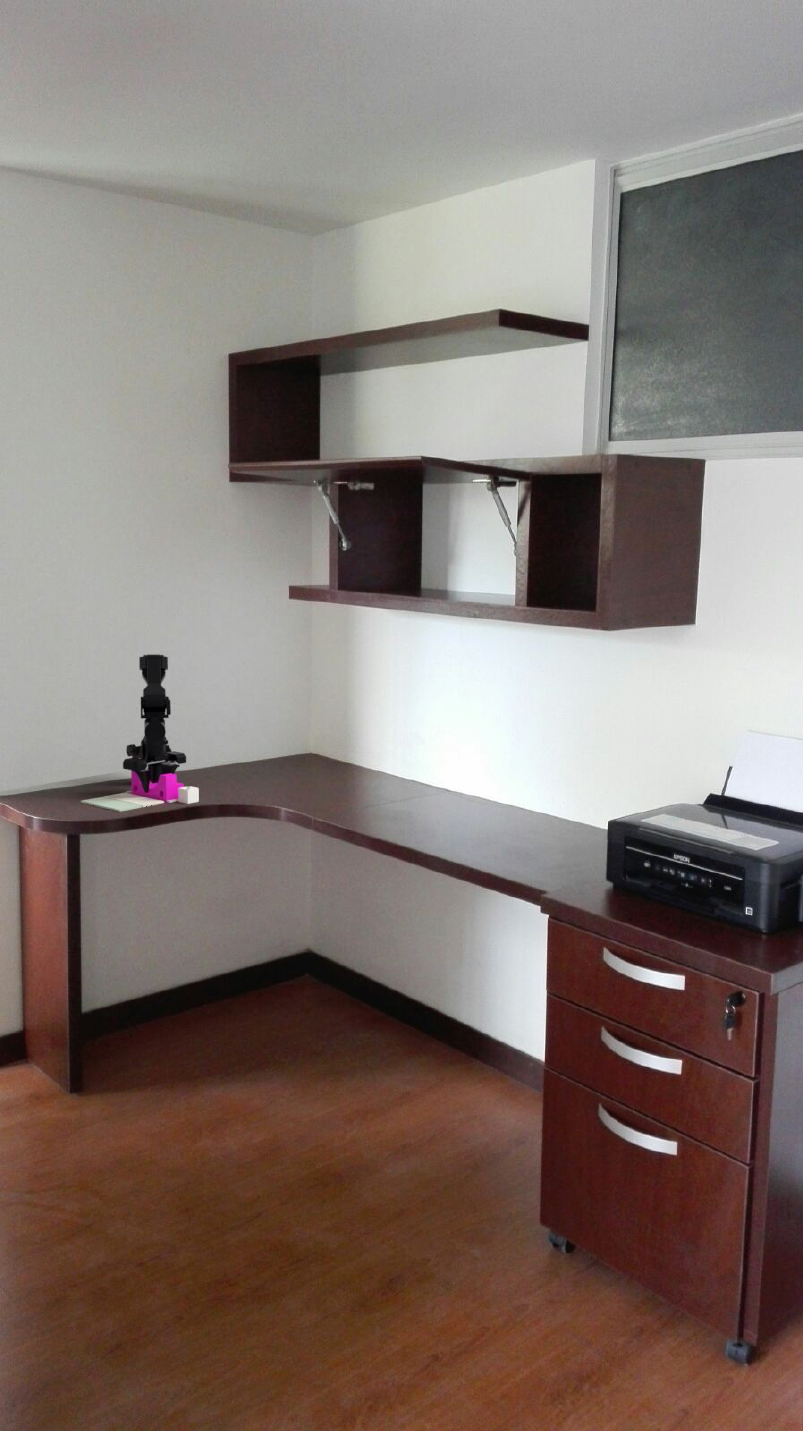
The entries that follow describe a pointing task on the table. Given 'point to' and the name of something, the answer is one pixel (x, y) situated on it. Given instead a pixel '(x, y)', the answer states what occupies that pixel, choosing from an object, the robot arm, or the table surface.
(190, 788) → the die
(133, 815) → the table surface
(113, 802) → the game board
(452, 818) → the table surface
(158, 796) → the toy block
